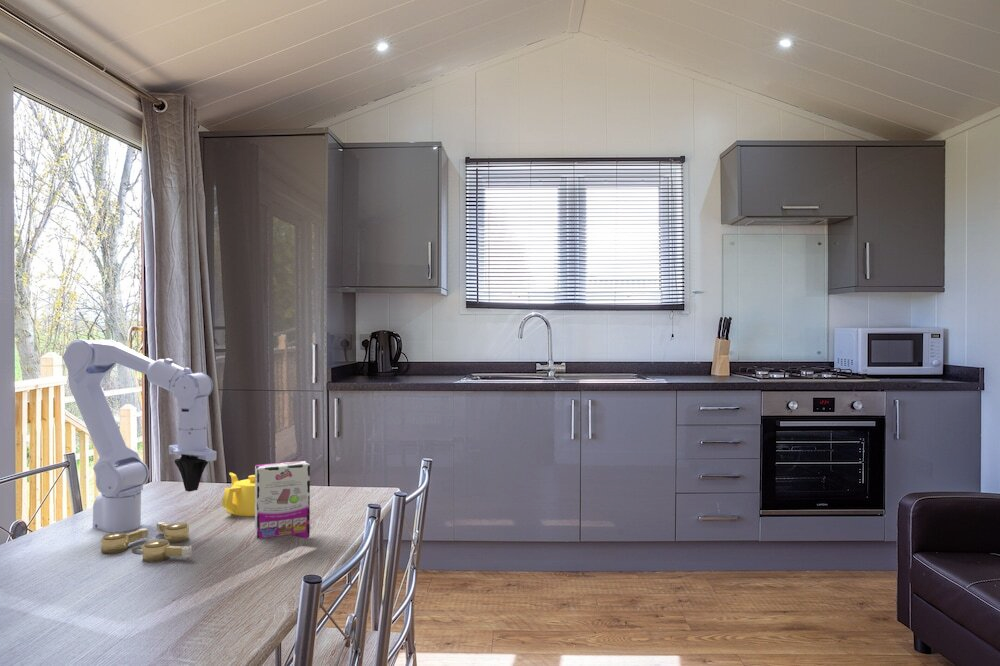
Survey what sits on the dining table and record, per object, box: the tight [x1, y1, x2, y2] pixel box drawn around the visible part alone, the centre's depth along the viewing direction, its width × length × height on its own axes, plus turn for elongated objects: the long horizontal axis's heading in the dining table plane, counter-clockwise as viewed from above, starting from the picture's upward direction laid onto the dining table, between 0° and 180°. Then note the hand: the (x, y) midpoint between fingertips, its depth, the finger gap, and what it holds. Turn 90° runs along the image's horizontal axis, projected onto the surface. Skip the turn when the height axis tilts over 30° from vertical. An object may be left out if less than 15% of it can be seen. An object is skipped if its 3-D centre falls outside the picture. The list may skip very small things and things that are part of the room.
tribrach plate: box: [131, 543, 144, 555], centre depth 131 cm, size 22×21×2 cm
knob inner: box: [100, 527, 149, 555], centre depth 131 cm, size 9×5×3 cm, turn 158°
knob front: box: [141, 538, 193, 563], centre depth 124 cm, size 9×5×3 cm, turn 84°
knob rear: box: [156, 521, 190, 544], centre depth 137 cm, size 9×5×3 cm, turn 55°
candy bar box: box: [254, 460, 311, 539], centre depth 142 cm, size 11×5×16 cm, turn 118°
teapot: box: [221, 472, 255, 517], centre depth 160 cm, size 14×13×10 cm
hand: (191, 490), depth 142 cm, fingers closed
